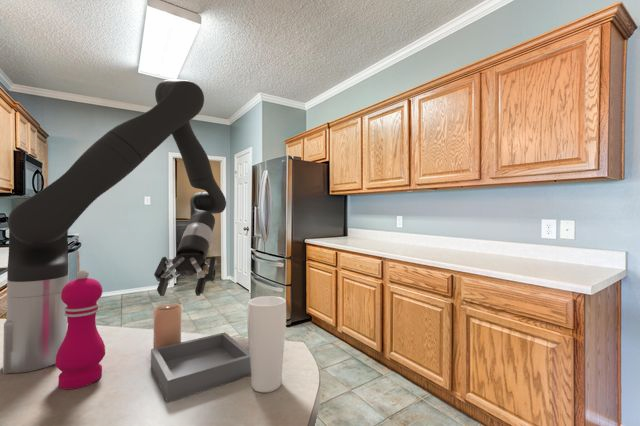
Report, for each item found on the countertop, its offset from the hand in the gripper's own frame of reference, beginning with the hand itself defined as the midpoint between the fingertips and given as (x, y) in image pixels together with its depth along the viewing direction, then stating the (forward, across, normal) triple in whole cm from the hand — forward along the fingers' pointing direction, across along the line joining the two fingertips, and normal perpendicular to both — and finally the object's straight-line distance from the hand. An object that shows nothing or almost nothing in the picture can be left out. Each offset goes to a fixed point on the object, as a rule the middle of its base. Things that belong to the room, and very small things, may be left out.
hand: (179, 294), depth 75 cm
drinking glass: (+23, +23, -7) cm, 33 cm away
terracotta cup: (+12, 0, +3) cm, 13 cm away
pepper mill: (+20, -11, -4) cm, 23 cm away
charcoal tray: (+18, +10, -3) cm, 21 cm away
